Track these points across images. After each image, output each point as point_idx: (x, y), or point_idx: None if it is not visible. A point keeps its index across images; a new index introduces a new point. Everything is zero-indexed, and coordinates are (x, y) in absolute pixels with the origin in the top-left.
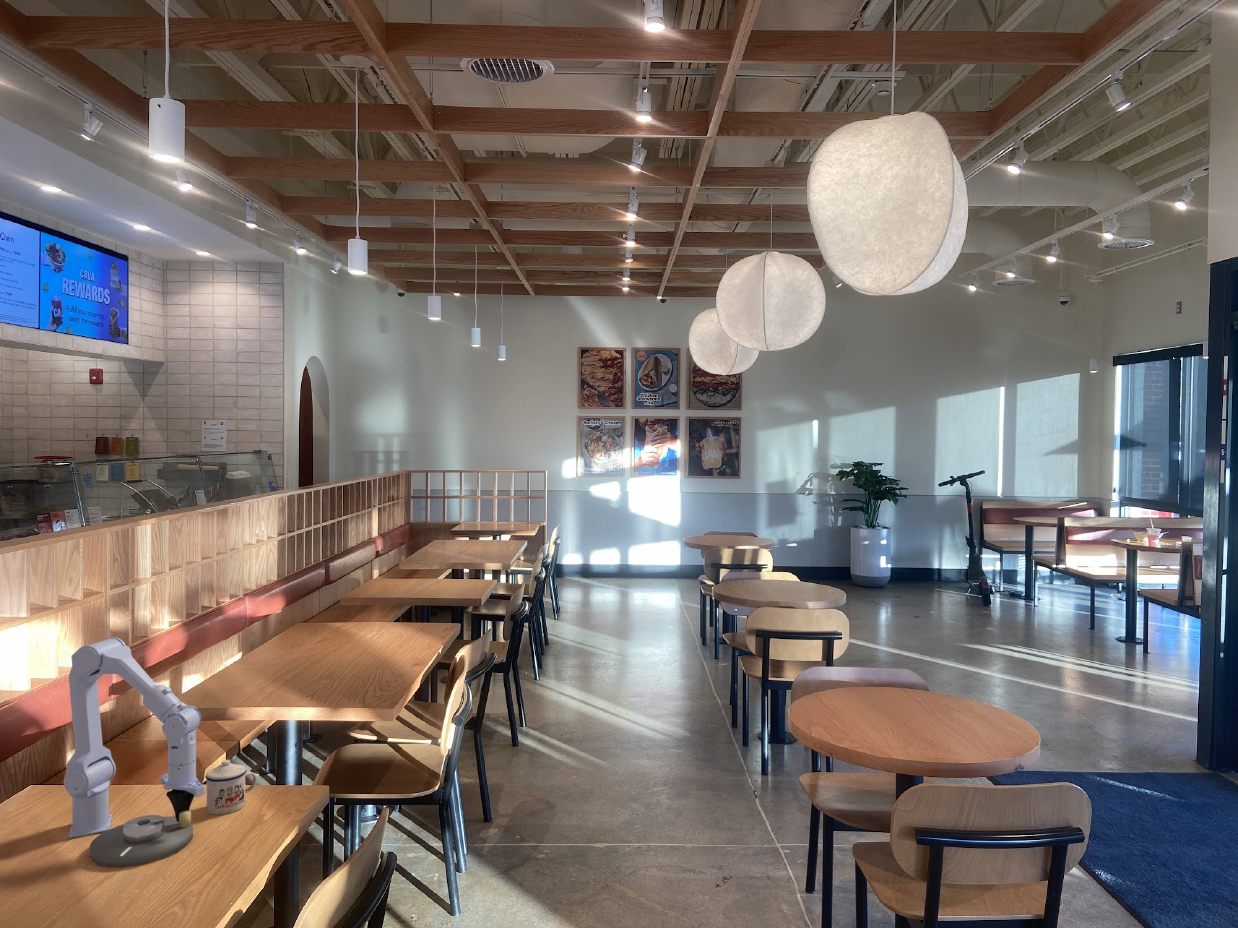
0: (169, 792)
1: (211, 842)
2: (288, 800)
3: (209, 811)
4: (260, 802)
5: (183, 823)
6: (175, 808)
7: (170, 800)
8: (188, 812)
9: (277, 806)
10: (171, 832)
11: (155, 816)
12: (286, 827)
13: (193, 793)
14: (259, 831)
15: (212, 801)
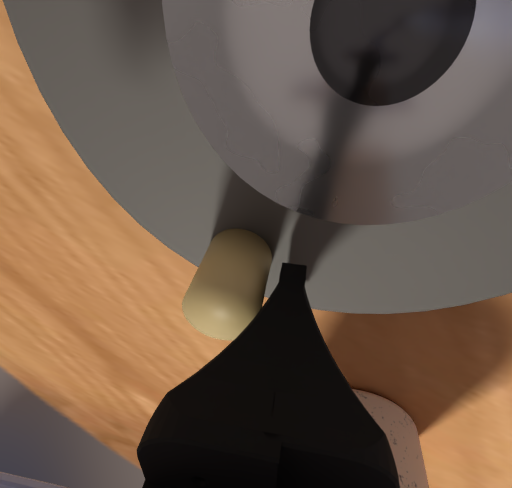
0: (356, 476)
1: (80, 225)
2: None
3: (360, 395)
4: None
5: (211, 251)
6: (282, 322)
7: (336, 379)
8: (211, 325)
9: None
10: (224, 166)
11: (394, 193)
12: (28, 372)
13: (8, 478)
14: (54, 338)
15: None
